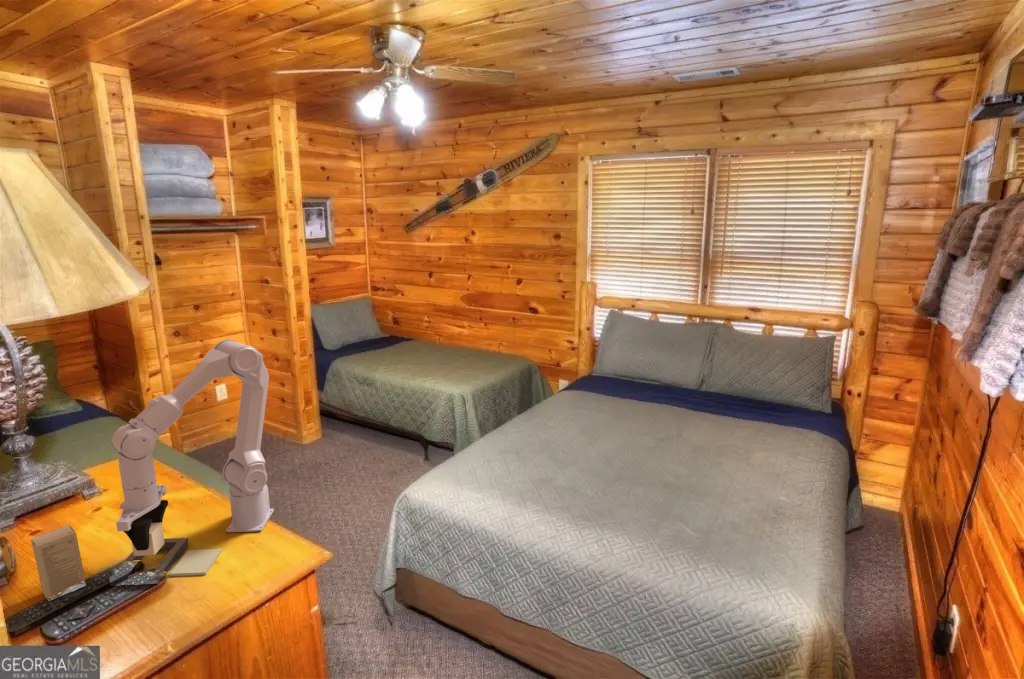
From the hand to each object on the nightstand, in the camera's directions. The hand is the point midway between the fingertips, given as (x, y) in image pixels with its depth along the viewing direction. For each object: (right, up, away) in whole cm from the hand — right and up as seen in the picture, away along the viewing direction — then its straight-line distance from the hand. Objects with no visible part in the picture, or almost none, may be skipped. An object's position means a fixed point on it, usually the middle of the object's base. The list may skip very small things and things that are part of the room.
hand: (148, 542), depth 115 cm
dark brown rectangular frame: (0, -5, +1) cm, 5 cm away
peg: (0, -2, 0) cm, 2 cm away
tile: (+9, -5, +2) cm, 10 cm away
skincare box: (-12, -7, -7) cm, 15 cm away
